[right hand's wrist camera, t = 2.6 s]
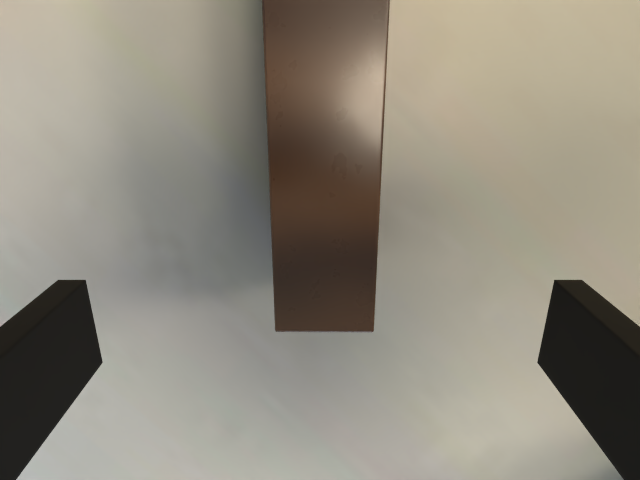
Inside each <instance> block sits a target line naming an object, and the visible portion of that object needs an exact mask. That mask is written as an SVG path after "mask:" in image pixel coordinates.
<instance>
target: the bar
mask: <svg viewBox="0 0 640 480" xmlns="http://www.w3.org/2000/svg"><path fill="white" fill-rule="evenodd" d="M389 4H390V0H262V11H263V37H264V62H265V87H266V112H267V137H268V162H269V187H270V212H271V237H272V262H273V287H274V312H275V330H276V332H373V331H374V315H375V294H376V273H377V253H378V232H379V211H380V191H381V170H382V149H383V129H384V108H385V87H386V66H387V46H388V25H389Z"/></svg>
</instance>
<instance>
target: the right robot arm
mask: <svg viewBox="0 0 640 480" xmlns="http://www.w3.org/2000/svg"><path fill="white" fill-rule="evenodd" d="M101 364H102V357H101V353H100V348H99V343H98V338H97V333H96V328H95V323H94V319H93V314H92V309H91V304H90V299H89V294H88V289H87V285H86V280H58V281H56V282H55V283H54V284H53V285H51V286H50V287H49V288H48V289H46V290H45V291H44V292H43V293H42V294H40V295H39V296H38V297H37V298H35V299H34V300H33V301H32V302H30V303H29V304H28V305H27V306H25V307H24V308H23V309H22V310H21V311H19V312H18V313H17V314H16V315H14V316H13V317H12V318H11V319H9V320H8V321H7V322H6V323H4V324H3V325H2V326H1V327H0V480H16V479H17V478H18V476H19V475H20V474H21V472H22V471H23V469H24V468H25V467H26V465H27V464H28V463H29V461H30V460H31V459H32V457H33V456H34V455H35V453H36V452H37V451H38V449H39V448H40V446H41V445H42V444H43V442H44V441H45V440H46V438H47V437H48V436H49V434H50V433H51V432H52V430H53V429H54V427H55V426H56V425H57V423H58V422H59V421H60V419H61V418H62V417H63V415H64V414H65V413H66V411H67V410H68V409H69V407H70V406H71V404H72V403H73V402H74V400H75V399H76V398H77V396H78V395H79V394H80V392H81V391H82V390H83V388H84V387H85V386H86V384H87V383H88V381H89V380H90V379H91V377H92V376H93V375H94V373H95V372H96V371H97V369H98V368H99V367H100V365H101ZM538 364H539V365H540V367H541V368H542V369H543V371H544V372H545V373H546V375H547V376H548V377H549V379H550V380H551V381H552V383H553V384H554V386H555V387H556V388H557V390H558V391H559V392H560V394H561V395H562V396H563V398H564V399H565V400H566V402H567V403H568V404H569V406H570V407H571V409H572V410H573V411H574V413H575V414H576V415H577V417H578V418H579V419H580V421H581V422H582V423H583V425H584V426H585V427H586V429H587V430H588V432H589V433H590V434H591V436H592V437H593V438H594V440H595V441H596V442H597V444H598V445H599V446H600V448H601V449H602V451H603V452H604V453H605V455H606V456H607V457H608V459H609V460H610V461H611V463H612V464H613V465H614V467H615V468H616V469H617V471H618V472H619V474H620V475H621V476H622V478H623V479H624V480H640V327H639V326H638V325H637V324H636V323H634V322H633V321H632V320H631V319H629V318H628V317H627V316H626V315H624V314H623V313H622V312H621V311H619V310H618V309H617V308H616V307H615V306H613V305H612V304H611V303H610V302H608V301H607V300H606V299H605V298H603V297H602V296H601V295H600V294H598V293H597V292H596V291H595V290H594V289H592V288H591V287H590V286H589V285H587V284H586V283H585V282H584V281H582V280H554V285H553V289H552V294H551V299H550V304H549V309H548V314H547V319H546V323H545V328H544V333H543V338H542V343H541V348H540V353H539V357H538Z"/></svg>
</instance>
